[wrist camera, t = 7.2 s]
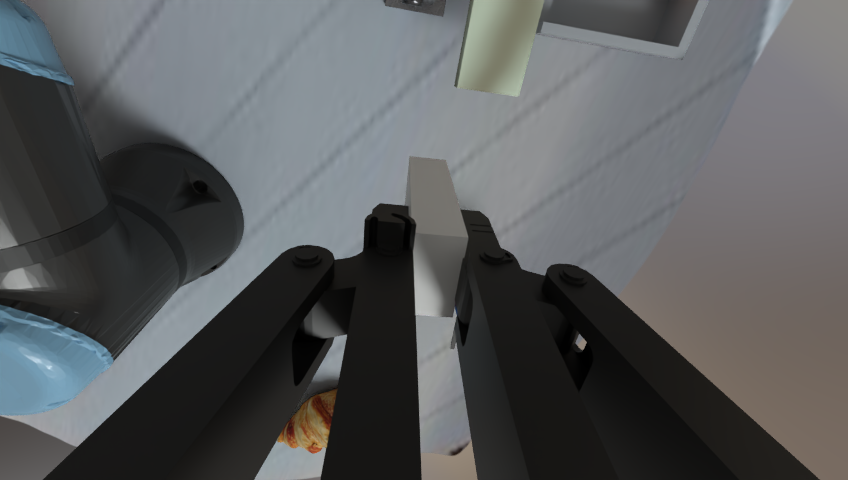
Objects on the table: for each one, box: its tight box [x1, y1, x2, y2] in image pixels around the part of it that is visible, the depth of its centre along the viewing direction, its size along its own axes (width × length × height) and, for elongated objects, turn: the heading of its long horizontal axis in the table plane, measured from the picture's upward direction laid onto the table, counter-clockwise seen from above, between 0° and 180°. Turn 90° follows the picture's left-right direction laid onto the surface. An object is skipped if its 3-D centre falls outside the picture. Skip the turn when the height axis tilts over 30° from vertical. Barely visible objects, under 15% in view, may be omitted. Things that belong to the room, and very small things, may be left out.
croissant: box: [277, 389, 337, 453], centre depth 57 cm, size 21×10×8 cm, turn 120°
